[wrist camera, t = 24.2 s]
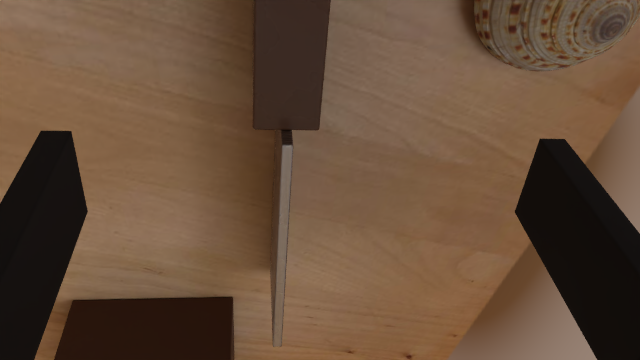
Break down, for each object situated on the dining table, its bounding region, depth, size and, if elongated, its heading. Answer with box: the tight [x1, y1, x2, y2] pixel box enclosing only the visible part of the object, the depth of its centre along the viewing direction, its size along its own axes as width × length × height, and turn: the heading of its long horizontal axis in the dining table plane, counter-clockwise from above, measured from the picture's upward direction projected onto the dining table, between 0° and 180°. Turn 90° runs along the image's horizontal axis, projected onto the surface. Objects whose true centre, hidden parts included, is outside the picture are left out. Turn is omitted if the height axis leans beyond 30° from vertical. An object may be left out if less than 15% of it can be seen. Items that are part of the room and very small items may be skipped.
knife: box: [253, 0, 331, 347], centre depth 30 cm, size 23×3×6 cm, turn 176°
